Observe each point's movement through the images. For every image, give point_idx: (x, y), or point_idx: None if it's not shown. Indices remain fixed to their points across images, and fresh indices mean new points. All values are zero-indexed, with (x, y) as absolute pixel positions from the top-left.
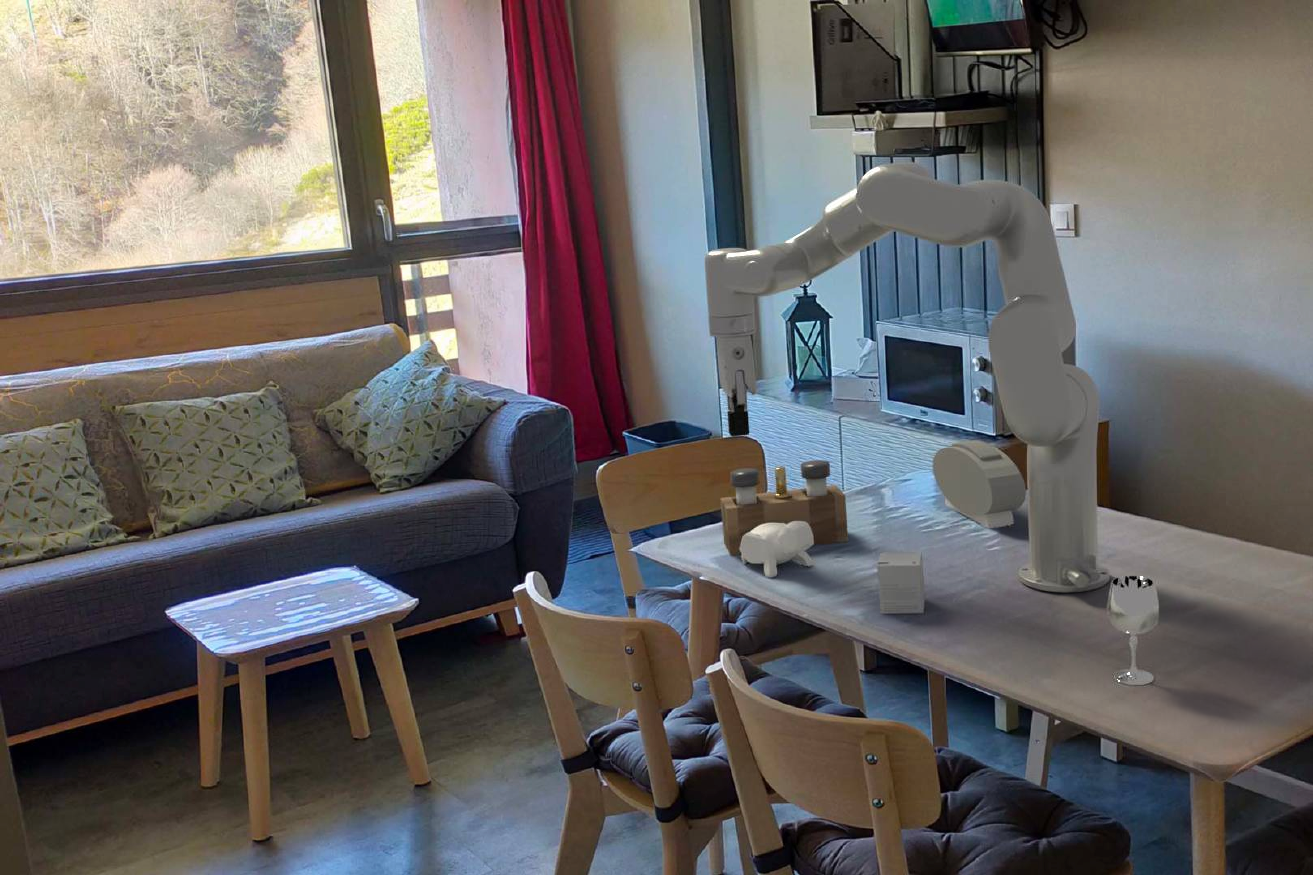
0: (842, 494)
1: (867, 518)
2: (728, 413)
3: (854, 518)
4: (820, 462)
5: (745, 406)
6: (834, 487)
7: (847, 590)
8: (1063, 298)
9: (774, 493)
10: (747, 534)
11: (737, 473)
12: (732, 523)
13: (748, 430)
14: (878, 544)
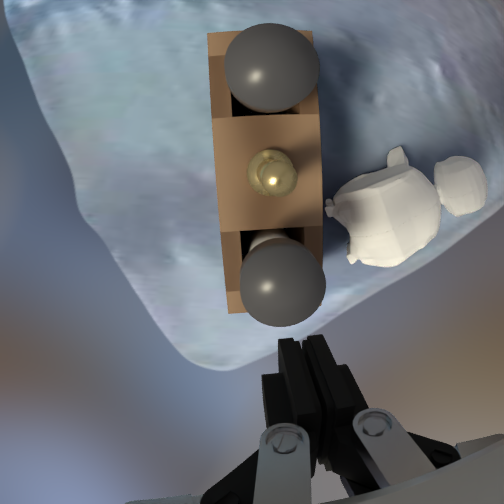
0: (303, 34)
1: (164, 12)
2: (328, 467)
3: (154, 32)
4: (259, 45)
5: (402, 435)
6: (231, 38)
7: (486, 135)
8: None
9: (265, 191)
10: (402, 261)
11: (293, 309)
12: None
13: (324, 343)
14: (324, 23)
